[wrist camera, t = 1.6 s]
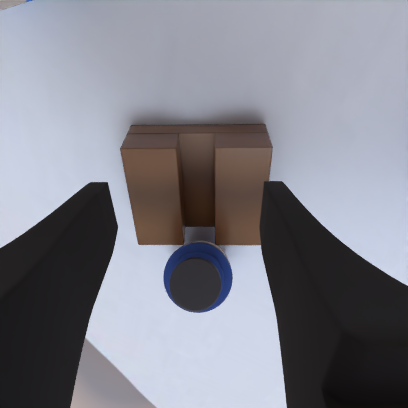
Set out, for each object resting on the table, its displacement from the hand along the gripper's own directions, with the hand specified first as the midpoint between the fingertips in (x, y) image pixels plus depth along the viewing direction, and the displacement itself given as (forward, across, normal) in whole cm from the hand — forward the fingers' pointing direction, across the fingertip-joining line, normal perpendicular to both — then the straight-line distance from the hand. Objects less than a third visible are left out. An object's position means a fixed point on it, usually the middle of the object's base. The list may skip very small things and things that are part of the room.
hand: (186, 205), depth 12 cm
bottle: (+9, 0, +9) cm, 13 cm away
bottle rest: (+9, 0, +5) cm, 10 cm away
